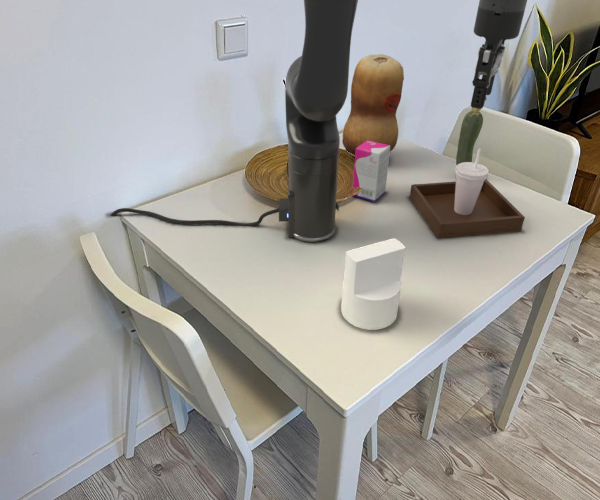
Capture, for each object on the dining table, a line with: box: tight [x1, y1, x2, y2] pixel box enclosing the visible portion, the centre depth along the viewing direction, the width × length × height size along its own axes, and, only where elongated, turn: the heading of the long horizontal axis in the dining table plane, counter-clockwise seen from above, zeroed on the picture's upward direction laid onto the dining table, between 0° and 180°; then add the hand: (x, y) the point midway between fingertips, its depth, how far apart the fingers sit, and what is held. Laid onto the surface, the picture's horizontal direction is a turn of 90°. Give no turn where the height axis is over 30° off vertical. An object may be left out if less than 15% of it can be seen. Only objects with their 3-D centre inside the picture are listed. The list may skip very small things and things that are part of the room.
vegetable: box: [455, 96, 488, 167], centre depth 116 cm, size 4×4×20 cm
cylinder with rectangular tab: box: [340, 237, 406, 331], centre depth 79 cm, size 9×9×12 cm
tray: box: [409, 178, 526, 240], centre depth 107 cm, size 18×17×3 cm
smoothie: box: [454, 147, 490, 215], centre depth 104 cm, size 6×6×14 cm
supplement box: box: [352, 140, 391, 203], centre depth 111 cm, size 6×6×12 cm
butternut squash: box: [342, 53, 405, 155], centre depth 123 cm, size 14×13×25 cm
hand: (480, 100), depth 95 cm, fingers open, 8 cm apart
